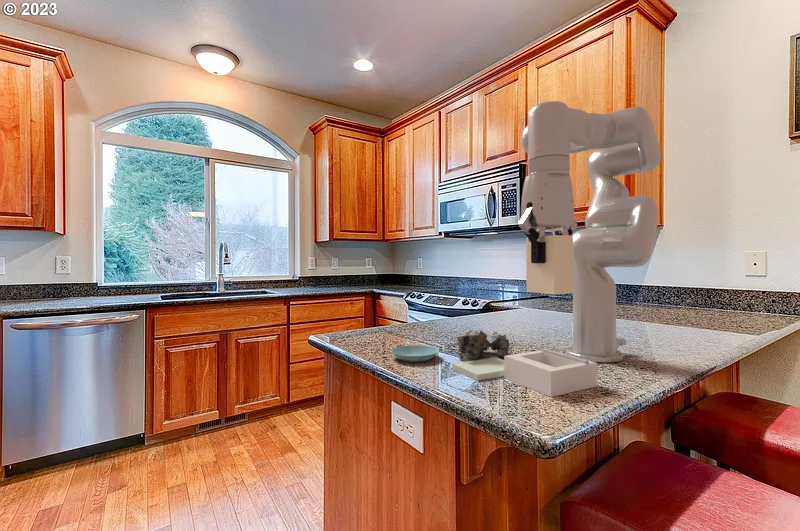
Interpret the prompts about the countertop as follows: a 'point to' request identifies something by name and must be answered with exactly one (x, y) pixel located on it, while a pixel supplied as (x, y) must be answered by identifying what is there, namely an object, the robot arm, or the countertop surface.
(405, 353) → the saucer
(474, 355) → the foil
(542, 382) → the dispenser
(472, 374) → the pad
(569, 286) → the cream rectangular block
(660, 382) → the countertop surface
